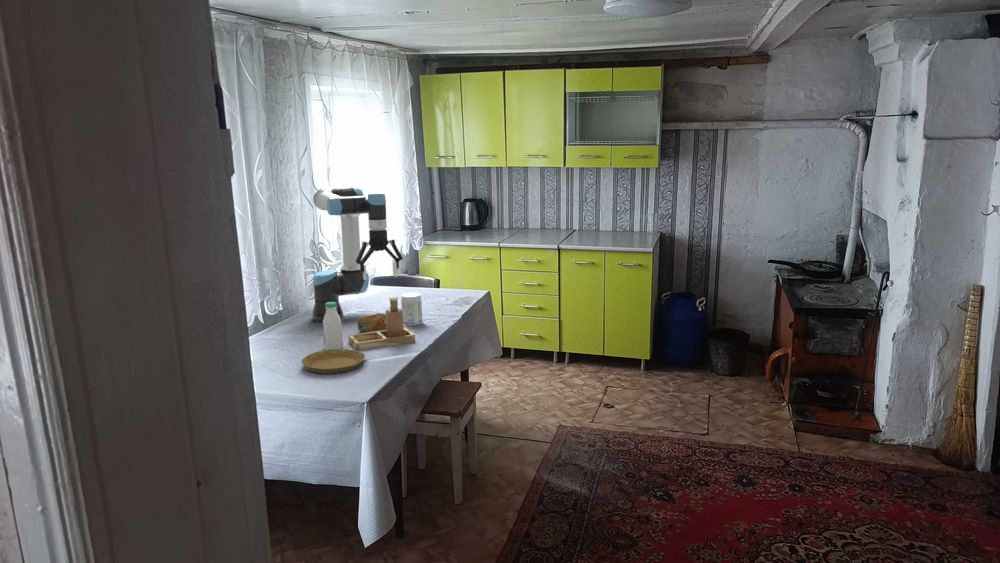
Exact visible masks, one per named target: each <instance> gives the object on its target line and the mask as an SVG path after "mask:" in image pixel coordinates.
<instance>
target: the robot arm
mask: <svg viewBox="0 0 1000 563" xmlns="http://www.w3.org/2000/svg"><path fill="white" fill-rule="evenodd" d="M312 201H313V203H314V206H315V207H316V208H317V209H319V210H322V211H327V213H328V215H330V216H338V217H340V222H341V224H340V225H341V228H340V229H341V243H342V261H343V265H342V266H341V267H340V272H338V271H337V270H336V269H326V270H321V271H318V272H316V273H315V274H314V275H313V279H312V280H313V282H312V285H313V295H314V296H313V298H314V305H313V310H312V312H311V319H312V320H313V321H316V322H323V319H324V316H325V313H326V307H325V303H327V302H336V304H337V308H336V310H337V313H338V315H339V316H340V319H341V320H342V319H343V318H344V311H343V309H342V306H341V303H340V299H339V297H341V296H350V295H358V294H364V293H366V292H367V291H368V288H369V283H370V276H369V272H368V270H367V265H366V264H365V263H366V262H367V261H368V259H369V258H370V257H371V255H372V254H373V253H374V252H383V251H385V252H386V253H387V254H388V255H389V256H390V257H391V258H392V259H393V261H392V269H393V273H392V274H393V277H394V278H397V277H398V270H399V268H400V264H399V262H400V261H403V259H404V258H403V256H402V254H401V252H400V251H399V248H398V247H397V245H396V241H395V239H394V238H390V239H388V230H387V223H388V222H387V199H386V194H385V193H384V192H379V191H377V192H369V193H367V195H366V194H365V195H364V192H363V190H362V188H361V187H360V186H359V185H336V186H335V185H334V186H333V185H331V186H330V185H328V186H324V187H321V188H320V189H318V190H317V191H316V192H315V194H314V195H313V199H312ZM361 214H363V215H364V214H368V229H369V230H368V236H369V241H365V240H362V241H361V236H360V235H361V234H360V218H359V217H360V216H361ZM361 242H362V243H361ZM388 245H391V247H392V249H393V251H394V253H395V254H394V253H393V252H392V250H391V249H390V248H389V247H388ZM368 246H370V247H369V249H368V250H367V251H366V249H367V247H368Z"/></svg>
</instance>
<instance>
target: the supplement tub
mask: <svg viewBox="0 0 1000 563" xmlns="http://www.w3.org/2000/svg"><path fill="white" fill-rule="evenodd" d="M400 297H401V298H400V300H401V301H400V303H401V305H400V306H401V309H402V310H403V321H404V326H417V325H416V324H418V325H421V324H423V307H422V306H423V302H422V294H421V293H420V292H405V293H402V294H401V296H400ZM420 323H421V324H420Z"/></svg>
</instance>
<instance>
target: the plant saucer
mask: <svg viewBox="0 0 1000 563" xmlns="http://www.w3.org/2000/svg"><path fill="white" fill-rule="evenodd" d="M365 358H366V356H365V354H364V353H363V352H361V351H360V350H356V349H355V350H354V349H343V348H341V349H337V350H321V351H316V352H313V353H310V354H307V355H306V356H304V357H303V358H302V360H301V364H302V366H303V367H304V368H306V369H307V370H309V371H311V372H313V373H316V374H322V375H323V374H324V375H325V374H326V375H330V374H331V375H332V374H333V375H334V374H340V373H346V372H350V371H352V370H355V369H356V368H358V367H359V366H361V364H362V363H364V360H365Z"/></svg>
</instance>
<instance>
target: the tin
mask: <svg viewBox="0 0 1000 563" xmlns="http://www.w3.org/2000/svg"><path fill="white" fill-rule="evenodd" d="M357 328H358V329H357V330H358V332H360V333H368V332H374V331H379V330H382V329H383V330H384V329H386V315H385V313H381V312H376V313H372V314H367V315H362V316H361V317H360V318H359V320H358V321H357Z"/></svg>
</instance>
